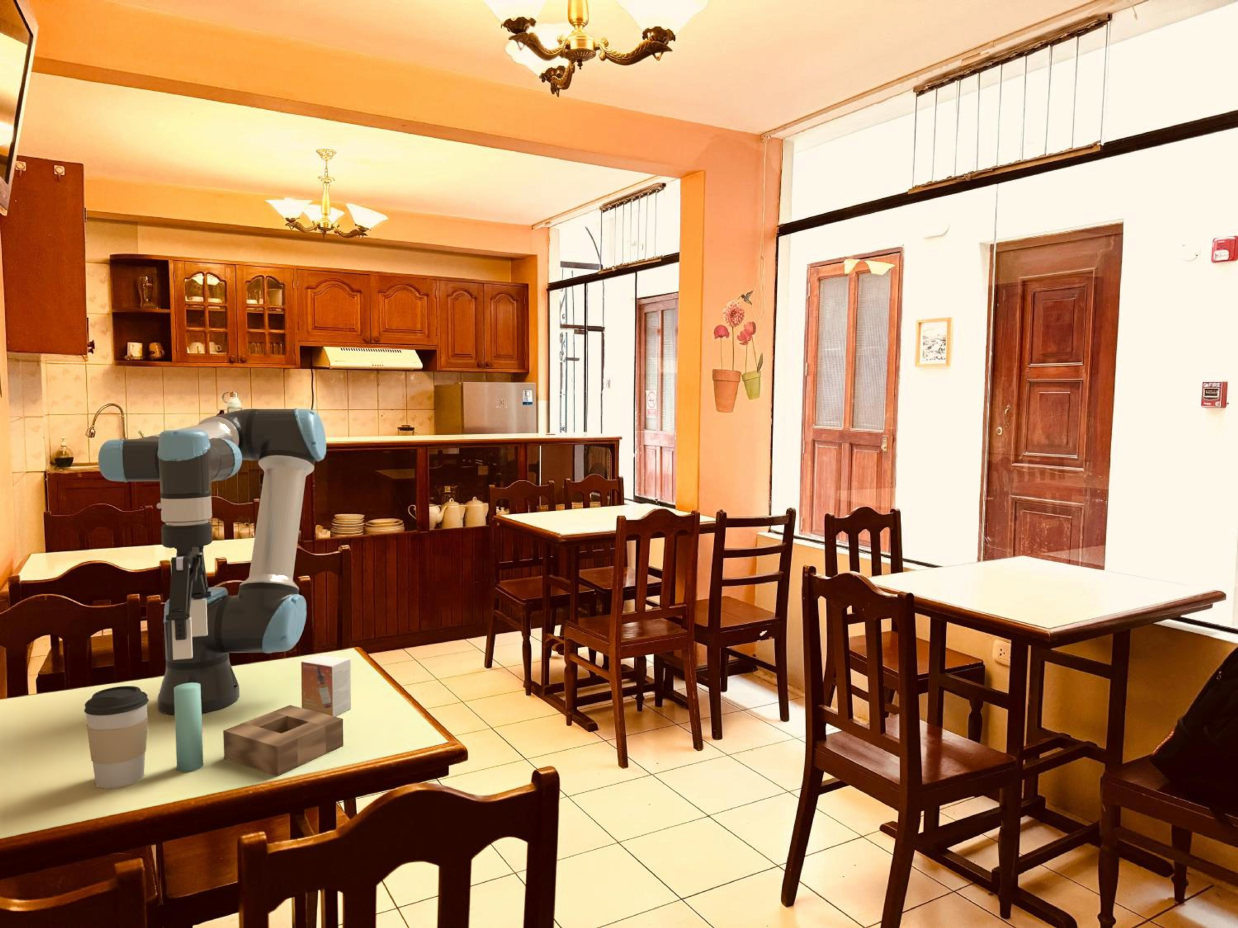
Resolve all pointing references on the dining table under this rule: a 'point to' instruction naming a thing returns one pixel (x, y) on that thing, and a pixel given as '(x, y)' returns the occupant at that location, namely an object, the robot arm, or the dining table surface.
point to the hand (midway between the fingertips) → (191, 646)
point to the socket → (283, 739)
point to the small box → (326, 684)
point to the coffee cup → (117, 735)
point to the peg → (188, 727)
